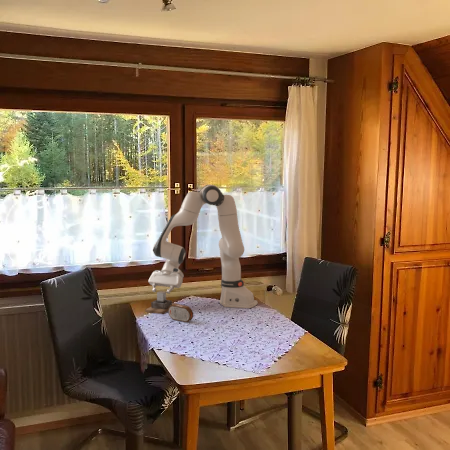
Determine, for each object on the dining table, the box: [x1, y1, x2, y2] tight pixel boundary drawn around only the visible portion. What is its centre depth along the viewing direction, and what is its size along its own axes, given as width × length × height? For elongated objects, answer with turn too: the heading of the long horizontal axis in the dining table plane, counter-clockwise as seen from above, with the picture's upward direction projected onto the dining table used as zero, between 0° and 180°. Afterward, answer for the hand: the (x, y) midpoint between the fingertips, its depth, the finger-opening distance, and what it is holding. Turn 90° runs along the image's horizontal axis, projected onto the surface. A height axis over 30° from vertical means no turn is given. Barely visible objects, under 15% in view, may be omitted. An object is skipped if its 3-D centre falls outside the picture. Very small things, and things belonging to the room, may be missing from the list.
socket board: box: [144, 299, 177, 315], centre depth 278 cm, size 11×17×4 cm, turn 156°
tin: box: [167, 303, 194, 323], centre depth 257 cm, size 15×3×8 cm, turn 58°
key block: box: [156, 290, 167, 303], centre depth 278 cm, size 4×3×8 cm
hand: (160, 292), depth 276 cm, fingers open, 8 cm apart
